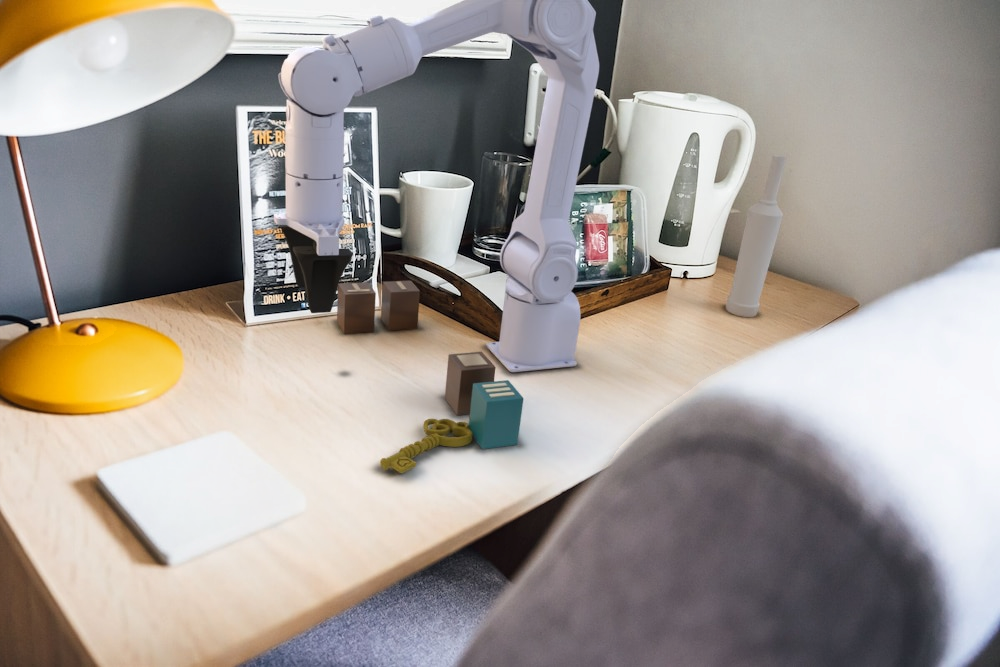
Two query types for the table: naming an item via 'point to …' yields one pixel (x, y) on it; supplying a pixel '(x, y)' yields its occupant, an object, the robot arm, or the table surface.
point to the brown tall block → (466, 378)
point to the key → (429, 443)
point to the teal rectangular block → (495, 414)
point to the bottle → (757, 246)
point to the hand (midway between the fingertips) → (313, 298)
